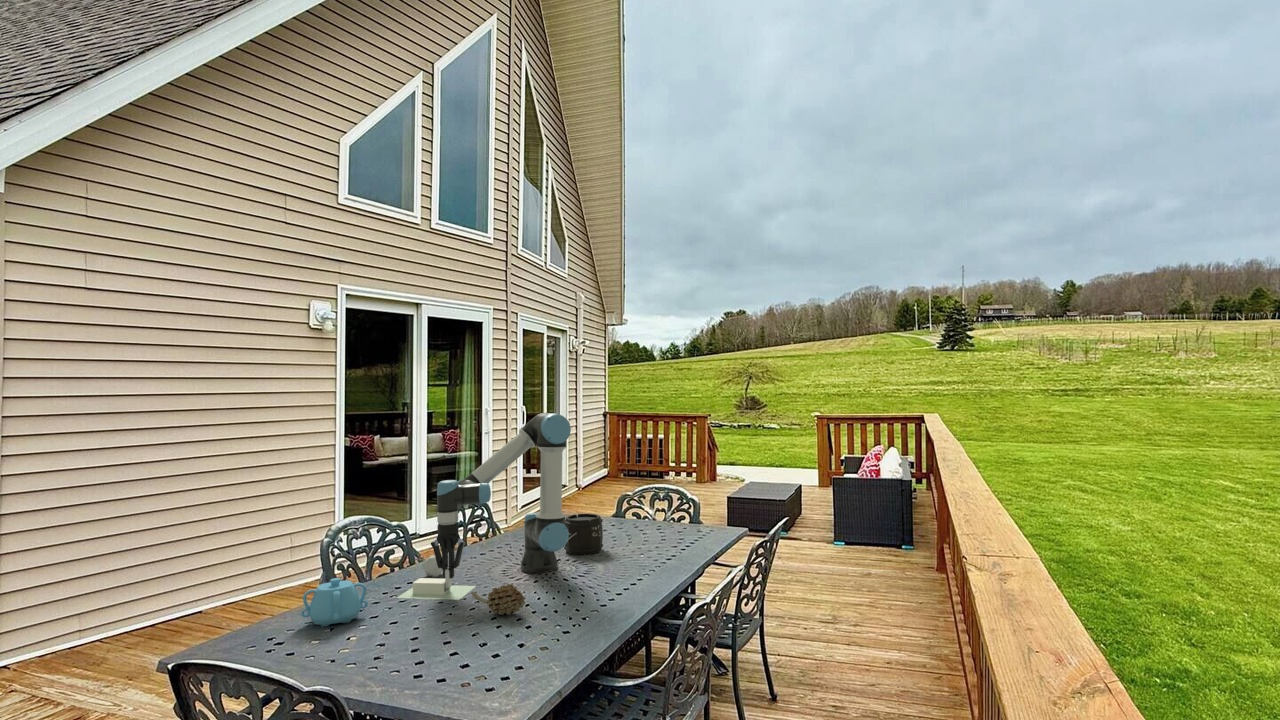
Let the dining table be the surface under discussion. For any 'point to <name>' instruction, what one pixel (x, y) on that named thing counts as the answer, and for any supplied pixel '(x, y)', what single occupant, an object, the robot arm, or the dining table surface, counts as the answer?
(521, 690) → the dining table surface
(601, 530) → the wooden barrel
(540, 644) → the dining table surface
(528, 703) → the dining table surface
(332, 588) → the decorative pot
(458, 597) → the green mat
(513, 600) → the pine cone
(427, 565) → the die
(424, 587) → the beige rectangular block
